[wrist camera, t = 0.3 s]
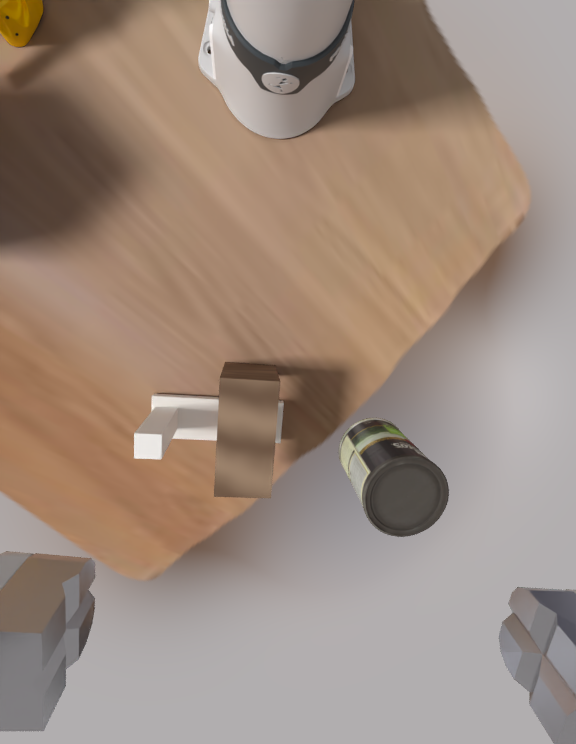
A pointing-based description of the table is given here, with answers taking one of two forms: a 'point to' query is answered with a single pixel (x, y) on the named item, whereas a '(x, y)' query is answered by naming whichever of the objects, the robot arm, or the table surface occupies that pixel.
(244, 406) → the shelf
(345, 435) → the coffee can
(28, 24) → the figure statuette
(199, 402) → the white pillar stand
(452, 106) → the table surface
